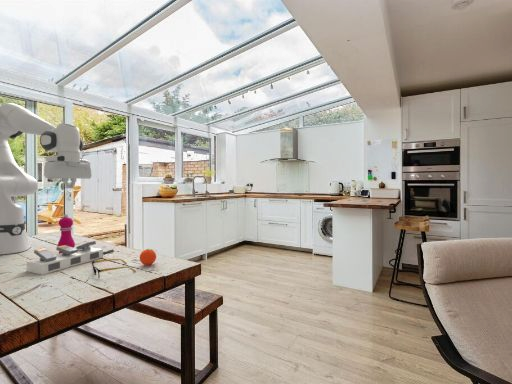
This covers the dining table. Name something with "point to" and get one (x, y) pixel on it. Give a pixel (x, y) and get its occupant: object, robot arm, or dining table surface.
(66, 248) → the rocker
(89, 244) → the rocker
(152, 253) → the clementine
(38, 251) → the block
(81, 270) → the dining table surface
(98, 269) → the eyeglasses
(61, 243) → the pepper mill
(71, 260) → the power strip
